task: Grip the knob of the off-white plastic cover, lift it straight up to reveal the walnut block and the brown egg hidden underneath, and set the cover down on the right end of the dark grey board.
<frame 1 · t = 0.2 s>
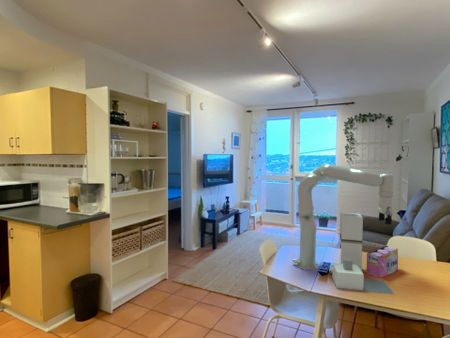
hand: (384, 222, 166), 31 cm above the table, tool pointing down, fingers open, 9 cm apart
gum box: (382, 272, 168), on the table
cover: (347, 283, 152), point 1 cm above the table, touching board
board: (360, 286, 150), on the table
tall pale grey box: (349, 271, 170), on the table
walnut block: (344, 284, 150), point 1 cm above the table, touching board
brown egg: (350, 281, 154), point 1 cm above the table, touching board
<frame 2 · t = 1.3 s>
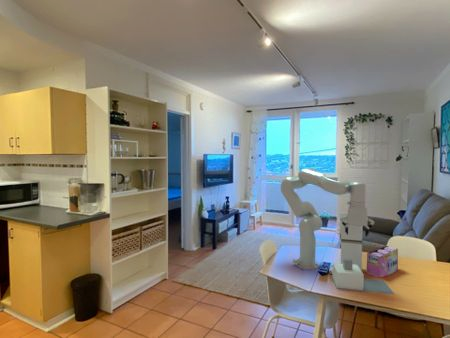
hand: (356, 234, 154), 27 cm above the table, tool pointing down, fingers open, 9 cm apart
nothing on the table moved.
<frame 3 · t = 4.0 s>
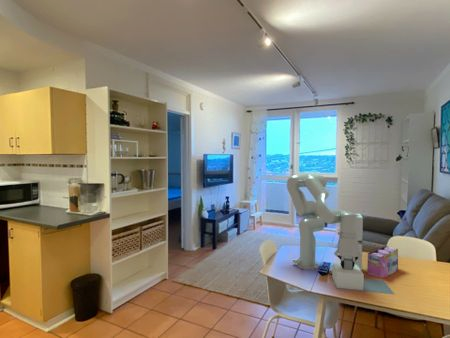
hand: (347, 267, 151), 10 cm above the table, tool pointing down, fingers closed on cover, 4 cm apart
cover: (347, 283, 152), point 1 cm above the table, touching board, gripper
everything else where it was.
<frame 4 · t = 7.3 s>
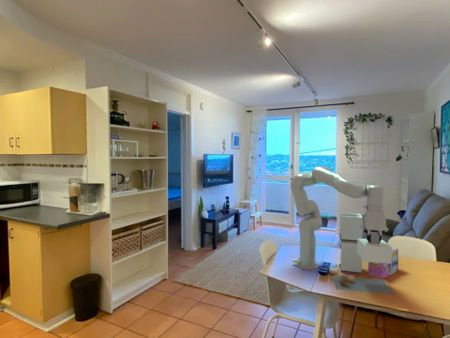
hand: (373, 241, 148), 25 cm above the table, tool pointing down, fingers closed on cover, 4 cm apart
cover: (373, 258, 148), point 16 cm above the table, touching gripper
everything else where it was.
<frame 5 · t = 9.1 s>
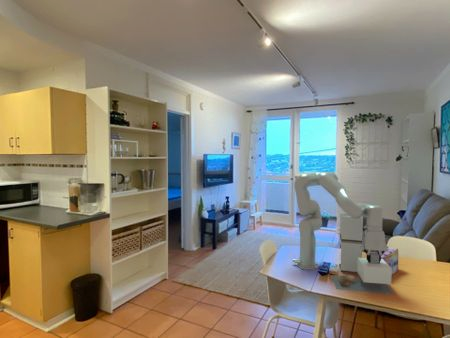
hand: (373, 261, 148), 14 cm above the table, tool pointing down, fingers closed on cover, 4 cm apart
cover: (373, 277, 149), point 5 cm above the table, touching gripper
when the fingers open (11 cm above the table, at t = 10.5 s): cover drops 1 cm, resting on board.
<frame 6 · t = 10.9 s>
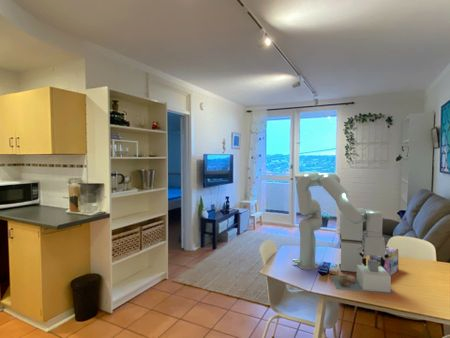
hand: (373, 265, 149), 12 cm above the table, tool pointing down, fingers open, 8 cm apart
cover: (372, 285, 149), point 1 cm above the table, touching board
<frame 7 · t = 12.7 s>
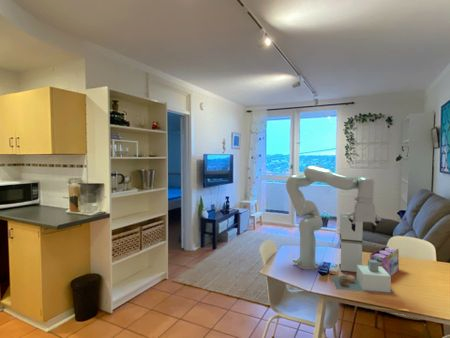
hand: (363, 231, 150), 30 cm above the table, tool pointing down, fingers open, 9 cm apart
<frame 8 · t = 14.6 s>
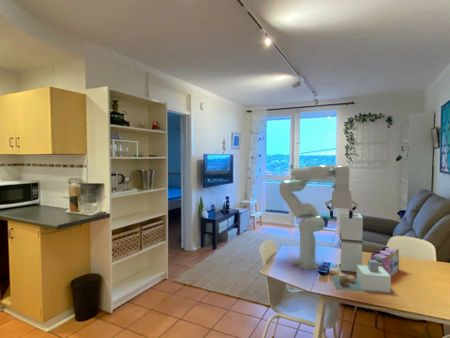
hand: (341, 218, 155), 36 cm above the table, tool pointing down, fingers open, 9 cm apart
at the end: cover inside the target area (0.1 cm from its centre), point 1.0 cm above the table; cover tilted 0°; the gripper is holding nothing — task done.
